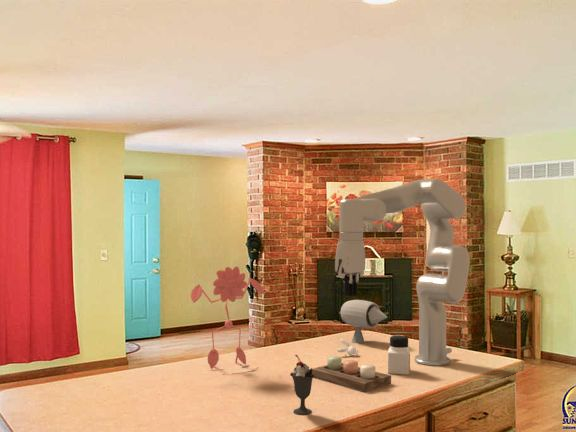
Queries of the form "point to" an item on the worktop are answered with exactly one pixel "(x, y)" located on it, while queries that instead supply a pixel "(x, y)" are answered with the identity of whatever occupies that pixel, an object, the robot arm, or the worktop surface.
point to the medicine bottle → (399, 355)
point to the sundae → (302, 385)
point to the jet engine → (361, 316)
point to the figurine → (230, 289)
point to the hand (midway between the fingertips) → (351, 295)
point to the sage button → (334, 363)
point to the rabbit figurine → (350, 349)
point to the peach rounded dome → (350, 367)
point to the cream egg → (367, 372)
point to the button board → (351, 379)
